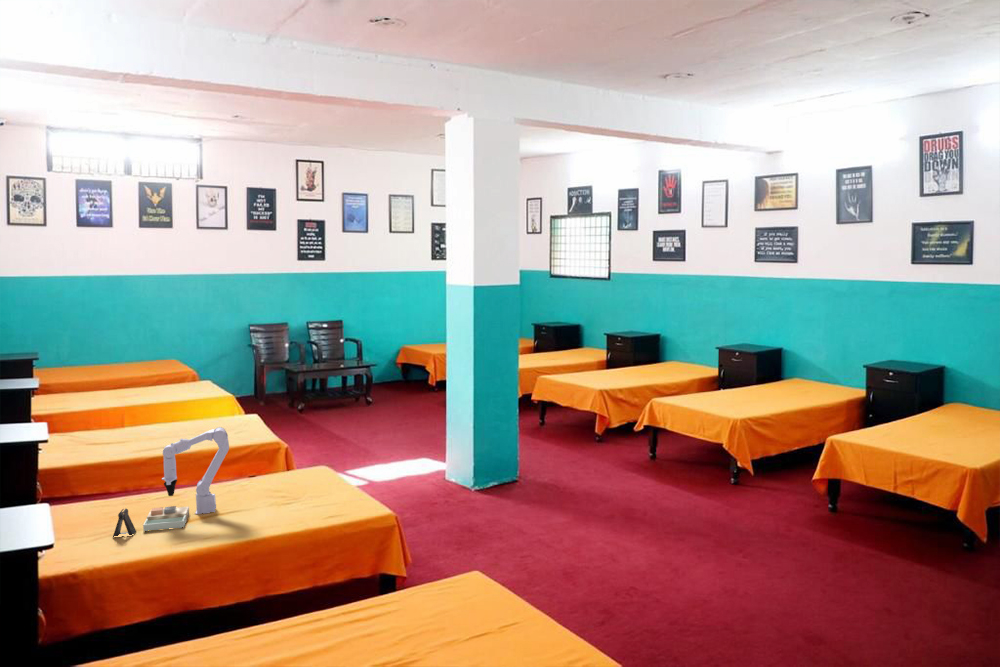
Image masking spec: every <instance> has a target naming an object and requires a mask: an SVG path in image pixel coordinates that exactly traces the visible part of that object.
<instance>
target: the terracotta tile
mask: <svg viewBox="0 0 1000 667" xmlns="http://www.w3.org/2000/svg"><path fill="white" fill-rule="evenodd" d="M163 509H164V506H163V507H154V508H153V507H152V508H151V509H150V511H151V515H158V514H162V513H163Z"/></svg>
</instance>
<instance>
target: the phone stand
mask: <svg viewBox="0 0 1000 667" xmlns="http://www.w3.org/2000/svg"><path fill="white" fill-rule="evenodd" d="M117 516H118V518H117V519H118V520H117V523H116V526H115V530H114V533H113V535H112V538H113V537H114V536H118V535H119V534H126V533H128V534H129V535H132V534H134V533H135V532H136V533H137V530H136V528H135V526H134V523H133V521H132V519H131V517H130V515H129V509H127V508H123V509H121V510H120V512H119V513H118V515H117ZM123 522H124V525H125V528H126V530H127V531H124V532H123V531H122V526H123ZM121 531H122V532H121ZM136 533H135V534H136ZM135 534H134V535H135Z"/></svg>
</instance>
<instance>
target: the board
mask: <svg viewBox="0 0 1000 667" xmlns="http://www.w3.org/2000/svg"><path fill="white" fill-rule="evenodd" d="M164 509H165V508H163V513H162V514H158V515H151V510H150V511H149V512H148V514H147V516H146V519H148V520H157V519H167V518H178V517H184V515H186V522H187V521H188V519H189V516H190V506H181V507H176V512H175V513H168V514H164ZM187 518H188V519H187Z"/></svg>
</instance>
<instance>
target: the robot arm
mask: <svg viewBox="0 0 1000 667" xmlns="http://www.w3.org/2000/svg"><path fill="white" fill-rule="evenodd" d="M204 441H210V442H212V441H214V442H215V443H216V444H217V446H218V450H217V452H216V453H215V455H214V457H213V459H212V460H211V462H210V464H209V466H208V467H207V470H206V472H205V473H204V475H203V476H202V477H201V479H200V480H199V481H198V482H197V484H196V489H195V492H196V494H195V502H196V510H195V513H194V515H202V513H203V514H211V513H210V512H214V513H216V510H215V509H217V504H216V503H217V502H216V501H217V500H216V493H211V491H210V487H211V485H212V483H213V480H214V478H215V476H216V475H217V472H218V470H219V469H220V467H221V465H222V463H223V461H224V459H225V457H226V455H227V454H228V452H229V450H230V445H229V444H230V443H229V435H228V433H227V431H226V429H225V428H224V427H220V426H219V427H216V428H215V429H214V428H212V429H210V430H207V431H205V432H203V433H201V434H198V435H197V436H194V437H192V438H190V439H189V438H188V439H187V438H184V439H183V438H180V439H179V441H176V442H174V443H173V442H171V443H170V444H168V445H165V446H164V447H163V450H162V456H163V477H162V478H161V480H162V481H164V483H163V485H164V487H165V489H166V491H167V495H168V497H173V496H174V495H175V491H176V490H175V489H176V484H177V481H178V476H177V461H176V455H178V454H181V453H184V452H185V451H188V450H190V449H191V446H194V445H196V444H199V443H202V442H204Z"/></svg>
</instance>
